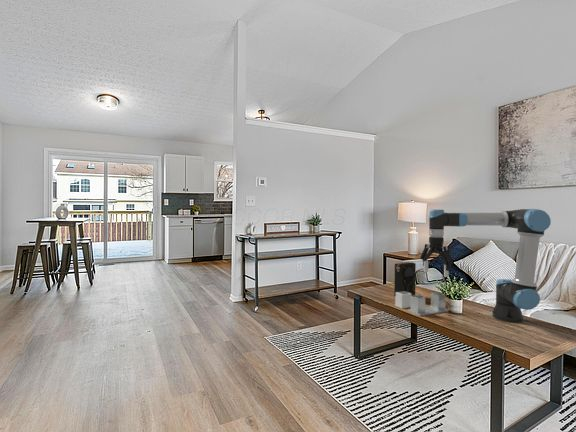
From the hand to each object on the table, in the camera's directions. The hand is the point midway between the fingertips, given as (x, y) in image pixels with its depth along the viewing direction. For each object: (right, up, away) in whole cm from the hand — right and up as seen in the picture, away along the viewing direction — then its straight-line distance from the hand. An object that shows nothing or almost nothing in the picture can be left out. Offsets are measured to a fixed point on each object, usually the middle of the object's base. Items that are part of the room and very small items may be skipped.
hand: (435, 274), depth 182 cm
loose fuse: (+6, -27, +40) cm, 48 cm away
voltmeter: (+2, -27, +54) cm, 61 cm away
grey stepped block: (+5, -27, +21) cm, 34 cm away
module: (-7, -27, +31) cm, 42 cm away
